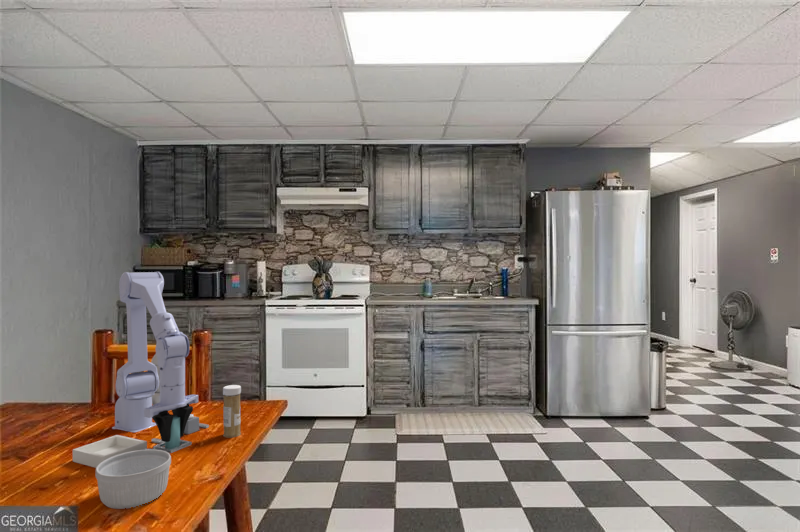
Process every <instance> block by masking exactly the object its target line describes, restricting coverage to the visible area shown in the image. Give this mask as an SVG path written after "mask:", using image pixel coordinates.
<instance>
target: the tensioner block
mask: <svg viewBox="0 0 800 532" xmlns="http://www.w3.org/2000/svg"><path fill="white" fill-rule="evenodd" d="M192 443H193V442H192V441H188V440H186V439H185V440H184V439H180V445H179V446H177V447H174V448H172V449H171V448H166V447H165V442H163V443H160V444H159V443H157V444H156V445H153V447H152V449H154V450H162V451H166V452H168V453H169V454H172V453H174V452H177V451H180V450H182V449H184V448H187V447H189V446H191V445H192ZM149 449H150V448H147V449H142V450H149Z"/></svg>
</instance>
